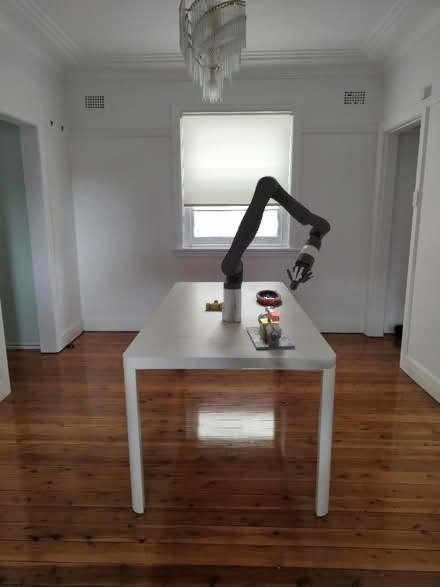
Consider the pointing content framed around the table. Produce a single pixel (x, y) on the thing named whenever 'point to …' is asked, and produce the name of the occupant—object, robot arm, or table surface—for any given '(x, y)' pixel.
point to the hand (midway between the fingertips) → (292, 289)
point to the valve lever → (272, 313)
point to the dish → (268, 294)
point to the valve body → (269, 334)
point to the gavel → (214, 306)
